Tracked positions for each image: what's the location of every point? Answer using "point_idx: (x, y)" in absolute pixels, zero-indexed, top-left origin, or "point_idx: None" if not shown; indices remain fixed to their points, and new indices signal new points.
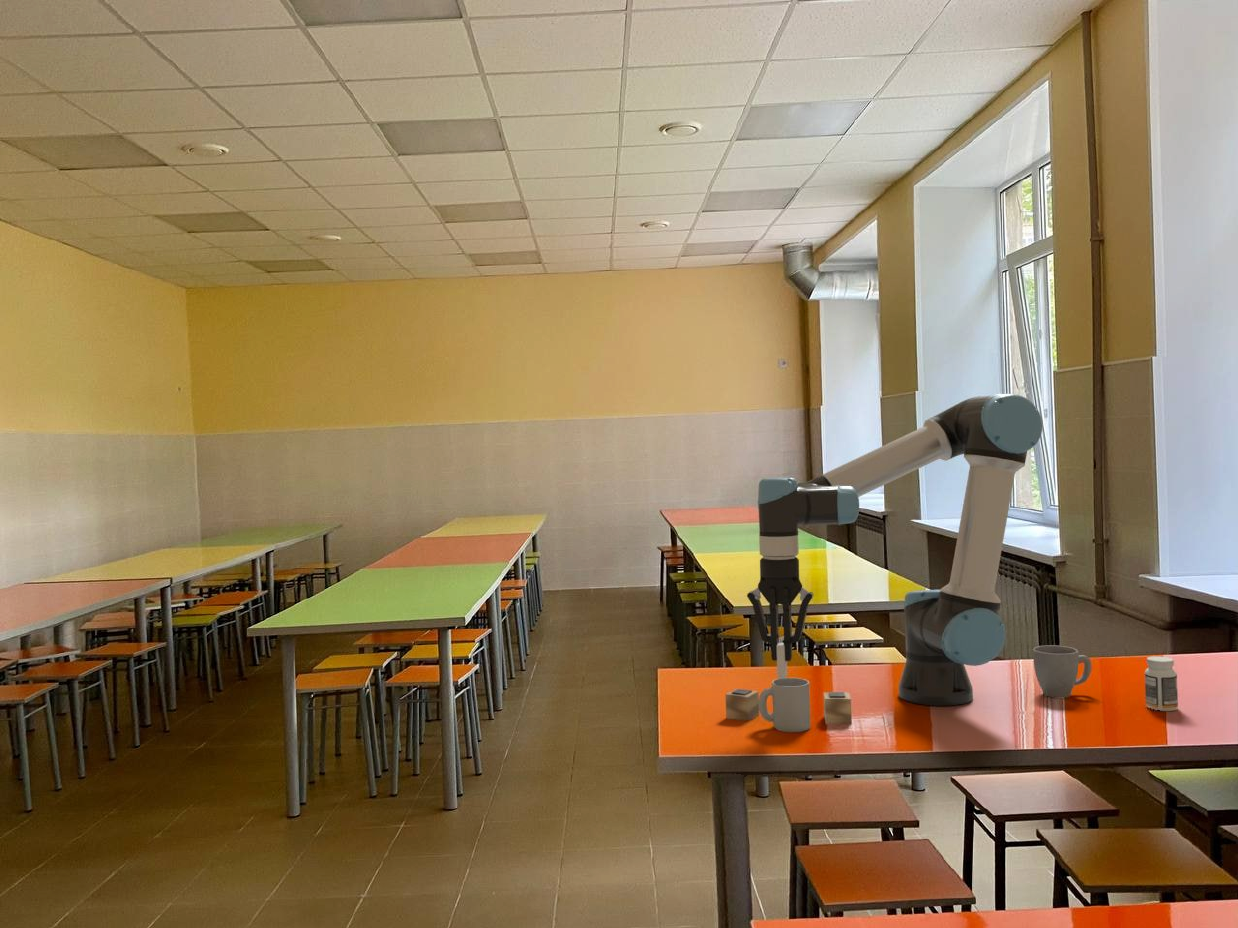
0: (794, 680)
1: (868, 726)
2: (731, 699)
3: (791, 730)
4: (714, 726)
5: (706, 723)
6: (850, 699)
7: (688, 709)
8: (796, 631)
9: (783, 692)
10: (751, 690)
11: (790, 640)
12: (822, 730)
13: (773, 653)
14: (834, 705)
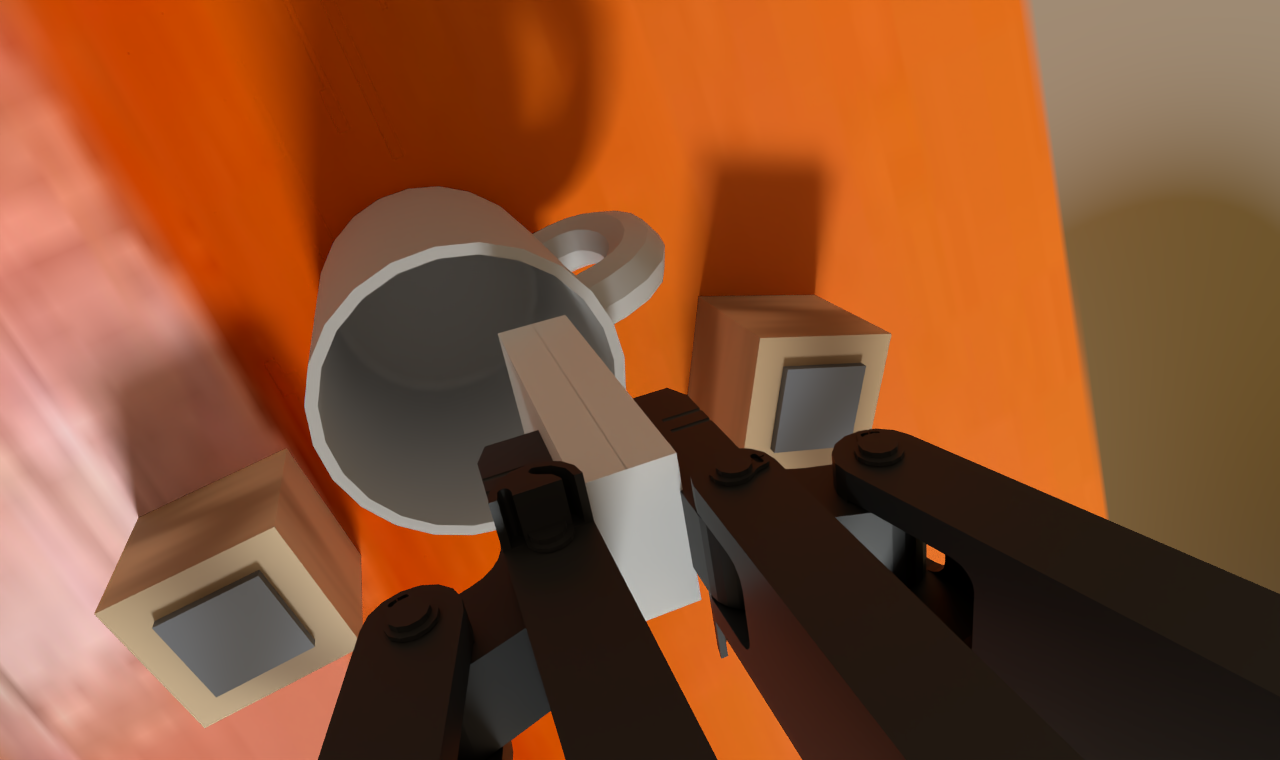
0: None
1: (6, 522)
2: (842, 325)
3: (393, 194)
4: (830, 133)
5: (879, 168)
6: (98, 609)
7: (1000, 347)
8: (414, 721)
9: (467, 230)
10: (775, 450)
11: (514, 590)
12: (237, 320)
13: (685, 424)
14: (218, 531)
